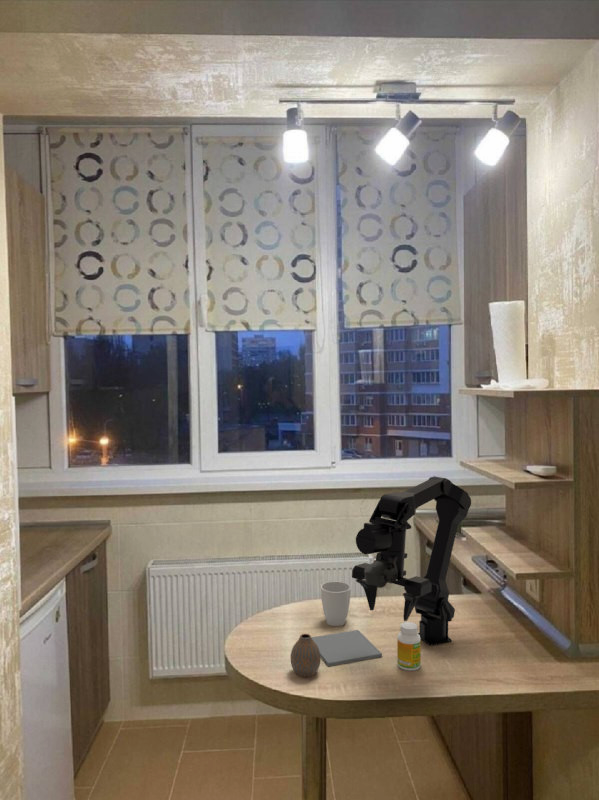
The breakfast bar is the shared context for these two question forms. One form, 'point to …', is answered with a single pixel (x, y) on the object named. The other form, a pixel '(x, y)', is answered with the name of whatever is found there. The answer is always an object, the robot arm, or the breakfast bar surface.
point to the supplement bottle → (409, 647)
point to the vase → (305, 656)
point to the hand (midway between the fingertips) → (388, 615)
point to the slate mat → (345, 647)
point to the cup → (335, 602)
